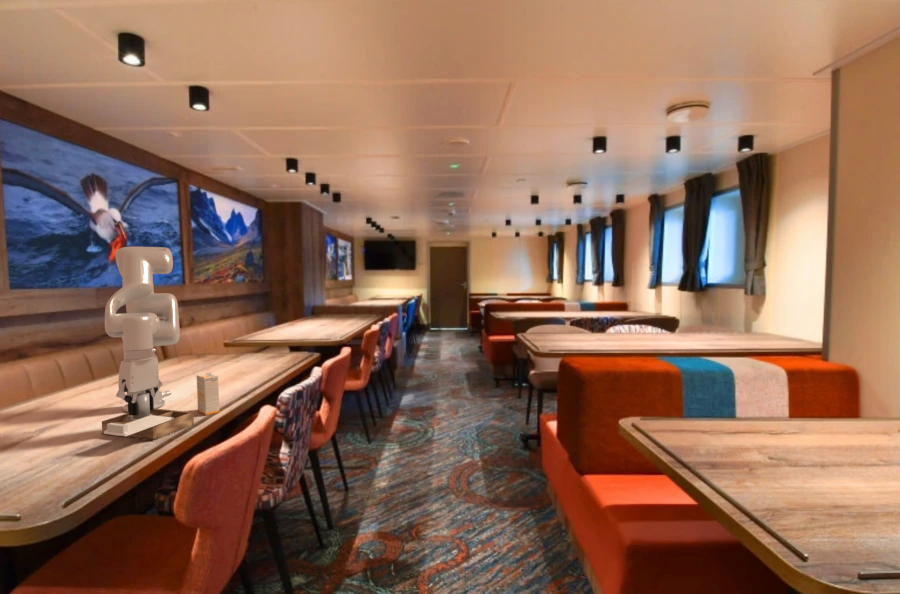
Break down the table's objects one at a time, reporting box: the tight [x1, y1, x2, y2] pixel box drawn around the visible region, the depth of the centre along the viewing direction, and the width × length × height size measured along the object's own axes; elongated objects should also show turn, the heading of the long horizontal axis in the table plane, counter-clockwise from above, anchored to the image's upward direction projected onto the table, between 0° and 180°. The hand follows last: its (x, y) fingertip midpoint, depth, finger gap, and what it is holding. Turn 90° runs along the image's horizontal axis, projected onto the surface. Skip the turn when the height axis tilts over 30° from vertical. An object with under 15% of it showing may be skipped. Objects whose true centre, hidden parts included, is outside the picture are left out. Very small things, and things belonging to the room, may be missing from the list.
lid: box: [103, 415, 171, 437], centre depth 126 cm, size 14×8×3 cm, turn 164°
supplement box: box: [196, 372, 220, 416], centre depth 152 cm, size 8×5×13 cm, turn 47°
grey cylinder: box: [128, 393, 152, 422], centre depth 136 cm, size 6×7×8 cm
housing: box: [101, 408, 195, 441], centre depth 135 cm, size 14×20×4 cm
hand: (141, 411), depth 136 cm, fingers closed on grey cylinder, 4 cm apart
